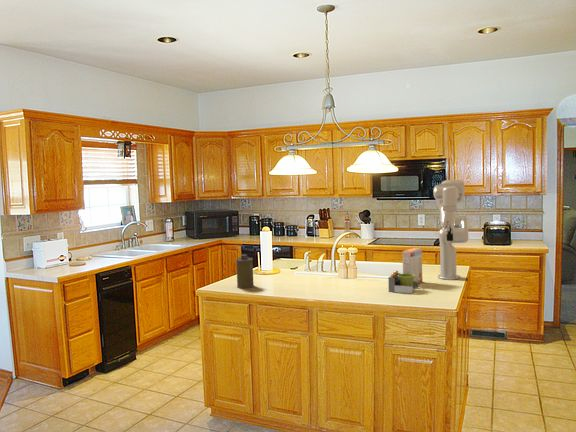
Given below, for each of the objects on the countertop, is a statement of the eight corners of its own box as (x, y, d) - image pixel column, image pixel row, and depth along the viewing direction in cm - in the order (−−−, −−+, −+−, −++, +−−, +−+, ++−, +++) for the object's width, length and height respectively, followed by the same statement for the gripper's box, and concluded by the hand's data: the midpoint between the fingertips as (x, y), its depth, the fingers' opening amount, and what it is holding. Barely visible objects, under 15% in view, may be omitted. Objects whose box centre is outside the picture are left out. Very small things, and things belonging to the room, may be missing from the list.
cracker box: (413, 281, 291) (413, 247, 289) (422, 282, 287) (422, 248, 285) (402, 285, 281) (401, 250, 279) (411, 286, 277) (411, 251, 275)
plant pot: (411, 292, 262) (411, 277, 262) (395, 291, 268) (395, 276, 267) (417, 289, 270) (417, 274, 270) (401, 287, 275) (401, 272, 275)
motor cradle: (395, 286, 279) (395, 269, 279) (418, 287, 273) (418, 270, 272) (388, 291, 266) (388, 274, 265) (412, 293, 260) (412, 276, 259)
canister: (250, 288, 286) (249, 256, 285) (234, 288, 289) (233, 256, 287) (256, 284, 297) (254, 253, 295) (240, 284, 299) (239, 253, 298)
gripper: (445, 207, 277) (445, 238, 278) (440, 209, 263) (440, 242, 265) (458, 207, 273) (458, 239, 275) (454, 209, 260) (454, 242, 261)
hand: (449, 240), depth 270 cm, fingers closed
